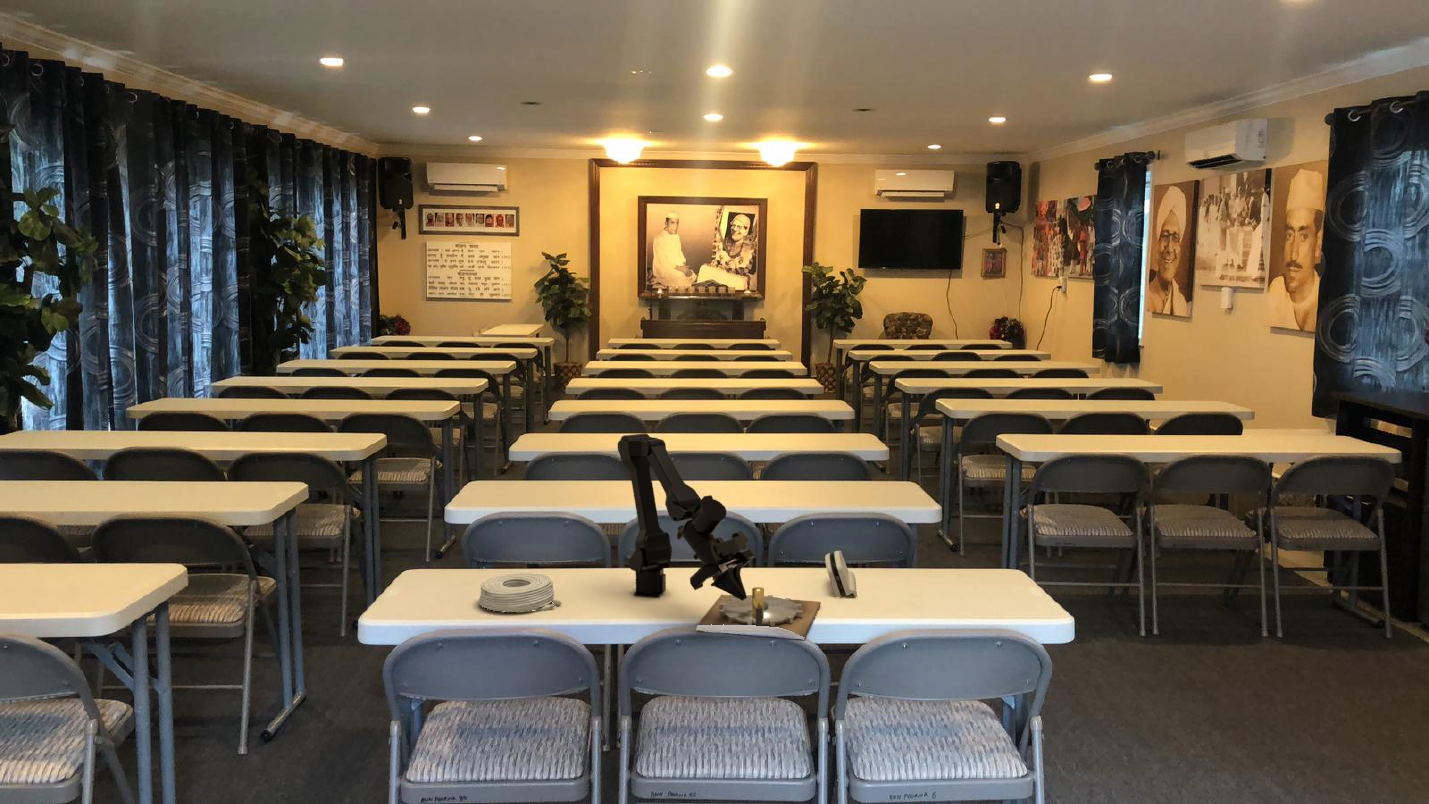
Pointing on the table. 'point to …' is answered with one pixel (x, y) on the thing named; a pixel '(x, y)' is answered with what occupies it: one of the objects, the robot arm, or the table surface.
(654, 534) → the robot arm
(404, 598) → the table surface
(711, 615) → the index board
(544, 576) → the cable
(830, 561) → the beige layered block
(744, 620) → the sprocket
